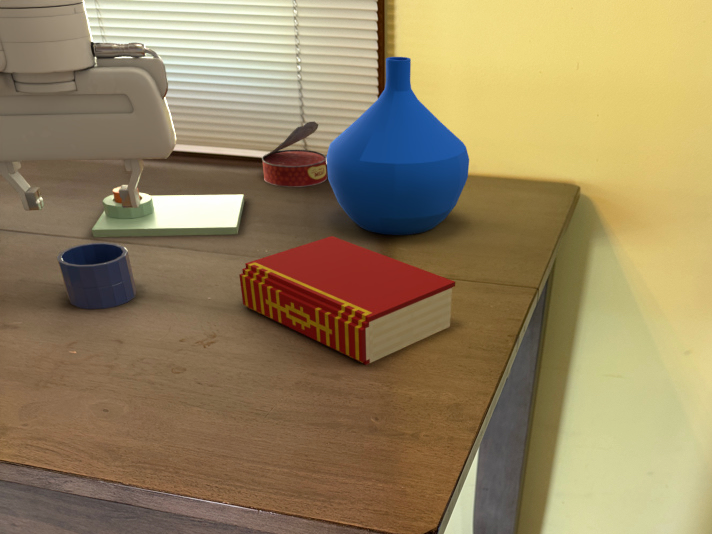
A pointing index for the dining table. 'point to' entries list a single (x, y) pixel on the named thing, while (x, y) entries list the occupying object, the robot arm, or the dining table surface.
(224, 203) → the scale
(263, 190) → the dining table surface
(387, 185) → the vase
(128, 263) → the cup
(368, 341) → the book
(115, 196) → the button
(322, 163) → the canned food
